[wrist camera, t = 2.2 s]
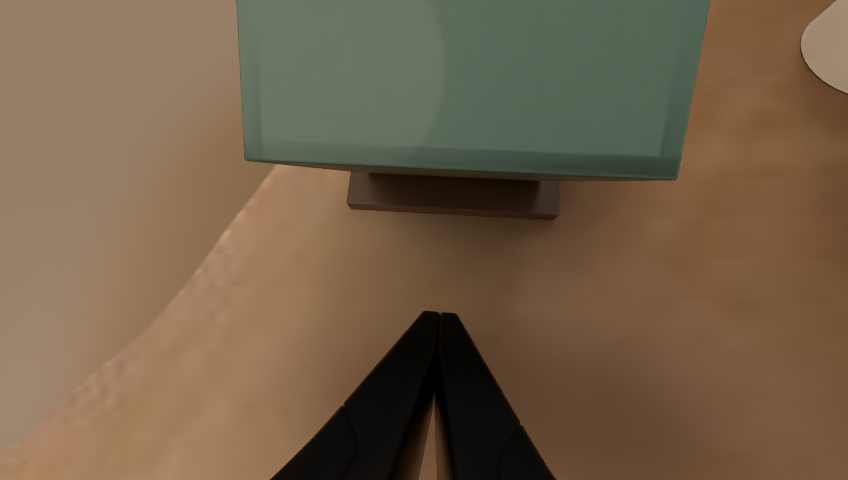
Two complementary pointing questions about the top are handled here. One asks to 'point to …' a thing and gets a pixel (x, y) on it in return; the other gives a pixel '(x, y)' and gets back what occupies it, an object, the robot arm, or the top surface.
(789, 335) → the top surface
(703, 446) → the top surface
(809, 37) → the cylindrical container
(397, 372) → the robot arm
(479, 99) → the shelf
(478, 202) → the shelf base
